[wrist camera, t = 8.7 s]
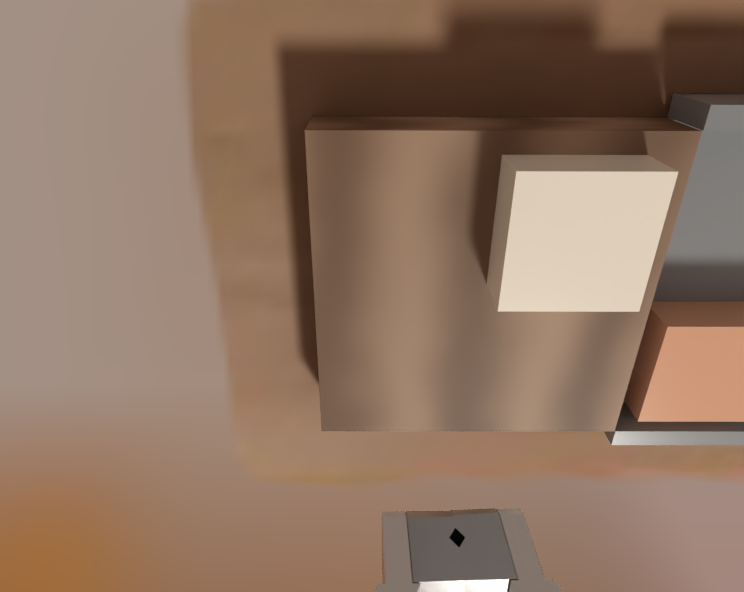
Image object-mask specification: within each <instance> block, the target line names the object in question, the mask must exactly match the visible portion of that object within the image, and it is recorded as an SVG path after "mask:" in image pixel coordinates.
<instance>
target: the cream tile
mask: <svg viewBox="0 0 744 592" xmlns="http://www.w3.org/2000/svg"><path fill="white" fill-rule="evenodd" d="M677 176H678V171H676V170H675V169H673V168H671V167H669V166H667V165H665V164H664V163H662V162H660V161H658V160H656V159H654V158H653V157H651V156H649V155H502V158H501V167H500V175H499V184H498V192H497V201H496V209H495V218H494V226H493V234H492V243H491V251H490V260H489V268H488V277H487V287H488V289H489V291H490V294H491V296H492V299H493V301H494V304H495V306H496V309H497V311H498V312H639V311H640V307H641V304H642V300H643V297H644V293H645V289H646V286H647V282H648V279H649V275H650V272H651V268H652V265H653V261H654V257H655V254H656V250H657V247H658V243H659V240H660V236H661V232H662V229H663V225H664V222H665V218H666V215H667V211H668V208H669V204H670V200H671V197H672V193H673V190H674V186H675V183H676V179H677Z"/></svg>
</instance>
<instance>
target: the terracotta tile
mask: <svg viewBox="0 0 744 592" xmlns="http://www.w3.org/2000/svg"><path fill="white" fill-rule="evenodd" d="M624 401H625V402H626V404H627V405H628V407H629V409H630V410H631V412H632V413H633V415H634V416H635V418H636V420H637V421H638V422H744V302H670V301H652V305H651V308H650V312H649V315H648V319H647V322H646V325H645V329H644V332H643V336H642V339H641V343H640V346H639V349H638V353H637V356H636V360H635V363H634V367H633V370H632V373H631V377H630V380H629V384H628V387H627V391H626V394H625V397H624Z"/></svg>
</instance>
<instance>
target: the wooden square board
mask: <svg viewBox="0 0 744 592" xmlns="http://www.w3.org/2000/svg"><path fill="white" fill-rule="evenodd" d="M701 133H702V131H701V130H698V129H695V128H693V127H690V126H688V125H685V124H682V123H680V122H677V121H674V120H672V119H669V118H667V117H311V119H310V121H309V123H308V125H307V127H306V129H305V147H306V165H307V182H308V199H309V217H310V234H311V252H312V269H313V287H314V304H315V322H316V339H317V357H318V374H319V392H320V409H321V427H322V431H615V428H616V425H617V421H618V418H619V415H620V411H621V408H622V404H623V401H624V397H625V394H626V391H627V387H628V384H629V380H630V377H631V373H632V370H633V367H634V363H635V360H636V356H637V353H638V349H639V346H640V343H641V339H642V336H643V332H644V329H645V325H646V322H647V319H648V315H649V312H650V308H651V305H652V301H653V298H654V295H655V291H656V288H657V284H658V281H659V277H660V274H661V271H662V267H663V264H664V260H665V257H666V253H667V250H668V247H669V243H670V240H671V236H672V233H673V229H674V226H675V223H676V219H677V216H678V212H679V209H680V205H681V202H682V199H683V195H684V192H685V188H686V185H687V181H688V178H689V175H690V171H691V168H692V164H693V161H694V157H695V154H696V151H697V147H698V144H699V140H700V137H701ZM502 155H649V156H651V157H653V158H654V159H656V160H658V161H660V162H662V163H664V164H665V165H667V166H669V167H671V168H673V169H675V170H676V171H678V176H677V179H676V183H675V186H674V190H673V193H672V197H671V200H670V204H669V208H668V211H667V215H666V218H665V222H664V225H663V229H662V232H661V236H660V240H659V243H658V247H657V250H656V254H655V257H654V261H653V265H652V268H651V272H650V275H649V279H648V282H647V286H646V289H645V293H644V297H643V300H642V304H641V307H640V311H639V312H498V311H497V309H496V306H495V304H494V301H493V299H492V296H491V294H490V291H489V289H488V287H487V277H488V268H489V260H490V251H491V243H492V234H493V226H494V218H495V209H496V201H497V192H498V184H499V175H500V167H501V158H502Z"/></svg>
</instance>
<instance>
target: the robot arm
mask: <svg viewBox="0 0 744 592" xmlns="http://www.w3.org/2000/svg"><path fill="white" fill-rule="evenodd" d="M374 592H565V591H564V590H563V589H562V588H561V587H560V586H559V585H558V584H557V583H556V582H555V581H554V580H553V579H552V580H551V579H545V576H544V573H543V570H542V567H541V564H540V561H539V558H538V556H537V552H536V549H535V547H534V543H533V540H532V538H531V534H530V531H529V528H528V525H527V523H526V520H525V517H524V514H523V512H522V511H521V509H519V508H518V509H472V510H451V511H406V512H405V511H400V512H399V511H396V512H382V584H379V585H377V587H376V589H375V591H374Z"/></svg>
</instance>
